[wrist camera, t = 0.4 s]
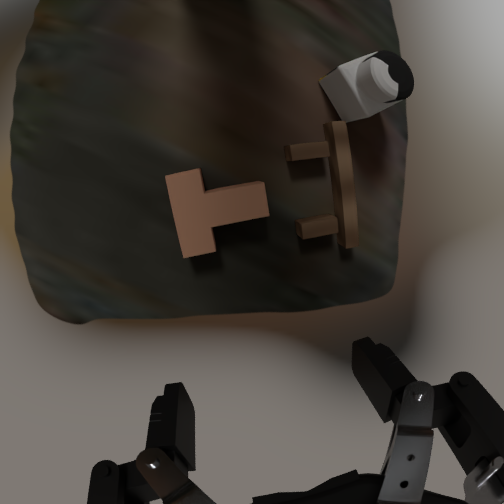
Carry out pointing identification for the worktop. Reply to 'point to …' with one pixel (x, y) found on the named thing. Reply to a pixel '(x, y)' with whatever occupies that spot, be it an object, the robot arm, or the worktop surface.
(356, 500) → the robot arm
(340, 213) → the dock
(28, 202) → the worktop surface
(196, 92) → the worktop surface
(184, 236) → the T block
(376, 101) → the medicine bottle
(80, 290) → the worktop surface
